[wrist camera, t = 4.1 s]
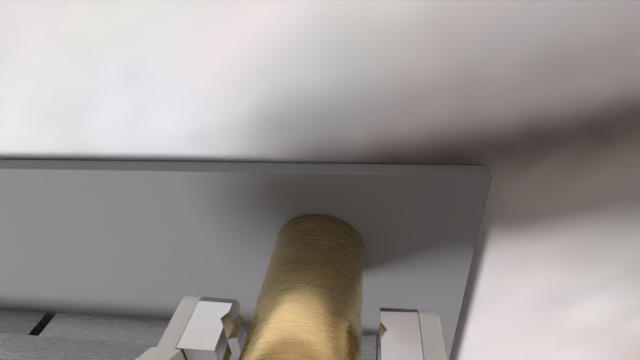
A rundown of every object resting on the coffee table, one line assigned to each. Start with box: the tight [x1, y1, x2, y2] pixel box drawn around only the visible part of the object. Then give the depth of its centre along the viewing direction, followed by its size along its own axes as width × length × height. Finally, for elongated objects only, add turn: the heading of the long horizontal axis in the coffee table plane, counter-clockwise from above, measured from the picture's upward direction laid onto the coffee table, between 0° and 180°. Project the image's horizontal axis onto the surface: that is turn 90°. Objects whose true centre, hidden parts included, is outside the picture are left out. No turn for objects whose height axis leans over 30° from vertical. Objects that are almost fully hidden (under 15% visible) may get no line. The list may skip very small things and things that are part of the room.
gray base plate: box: [0, 159, 491, 360], centre depth 17 cm, size 24×18×1 cm
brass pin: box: [238, 214, 364, 360], centre depth 10 cm, size 3×3×8 cm
